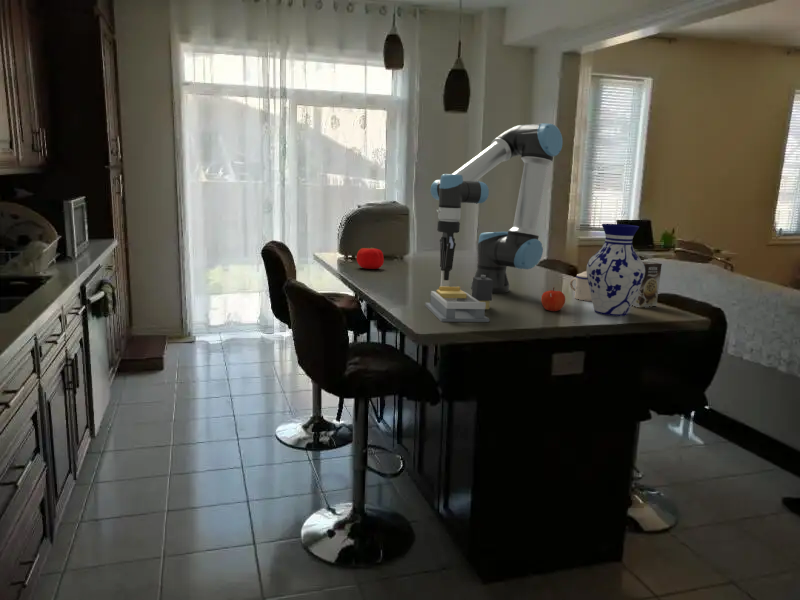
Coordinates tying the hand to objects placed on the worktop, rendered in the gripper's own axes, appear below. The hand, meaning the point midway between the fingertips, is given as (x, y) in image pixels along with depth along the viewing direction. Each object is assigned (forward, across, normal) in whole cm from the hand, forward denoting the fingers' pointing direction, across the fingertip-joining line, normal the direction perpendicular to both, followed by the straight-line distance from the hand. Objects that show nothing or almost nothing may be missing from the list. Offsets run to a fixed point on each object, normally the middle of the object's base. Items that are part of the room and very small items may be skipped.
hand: (444, 289), depth 221 cm
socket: (+5, +16, 0) cm, 17 cm away
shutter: (+1, +9, 0) cm, 9 cm away
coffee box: (+5, -1, +75) cm, 75 cm away
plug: (+5, +6, +12) cm, 14 cm away
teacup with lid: (+5, -14, +58) cm, 60 cm away
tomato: (+5, -82, -16) cm, 84 cm away
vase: (+5, +12, +56) cm, 58 cm away
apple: (+5, +9, +36) cm, 38 cm away
